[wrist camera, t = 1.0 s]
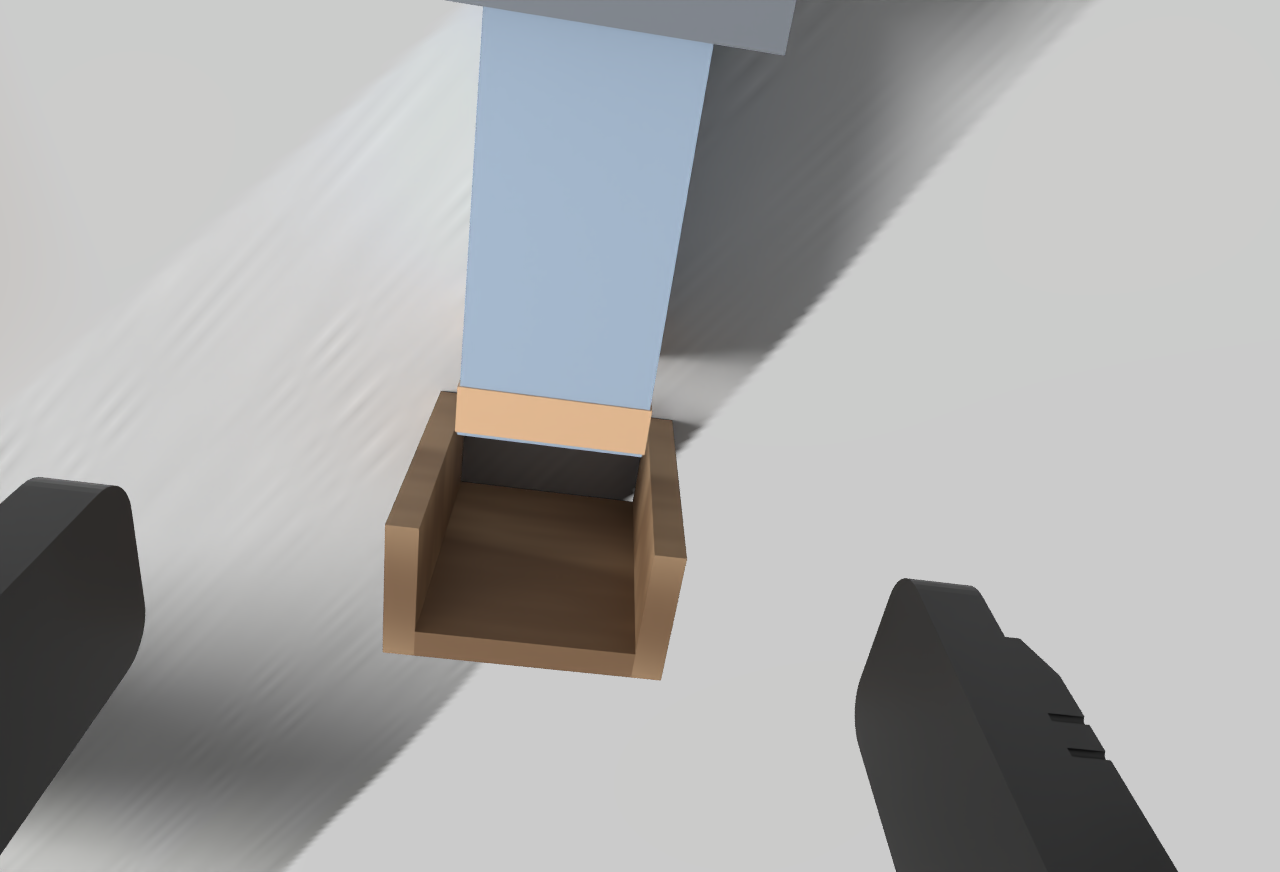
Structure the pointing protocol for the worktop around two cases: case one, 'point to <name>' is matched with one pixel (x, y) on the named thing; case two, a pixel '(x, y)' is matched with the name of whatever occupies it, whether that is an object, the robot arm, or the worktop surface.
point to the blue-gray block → (675, 18)
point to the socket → (533, 565)
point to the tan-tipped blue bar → (574, 228)
